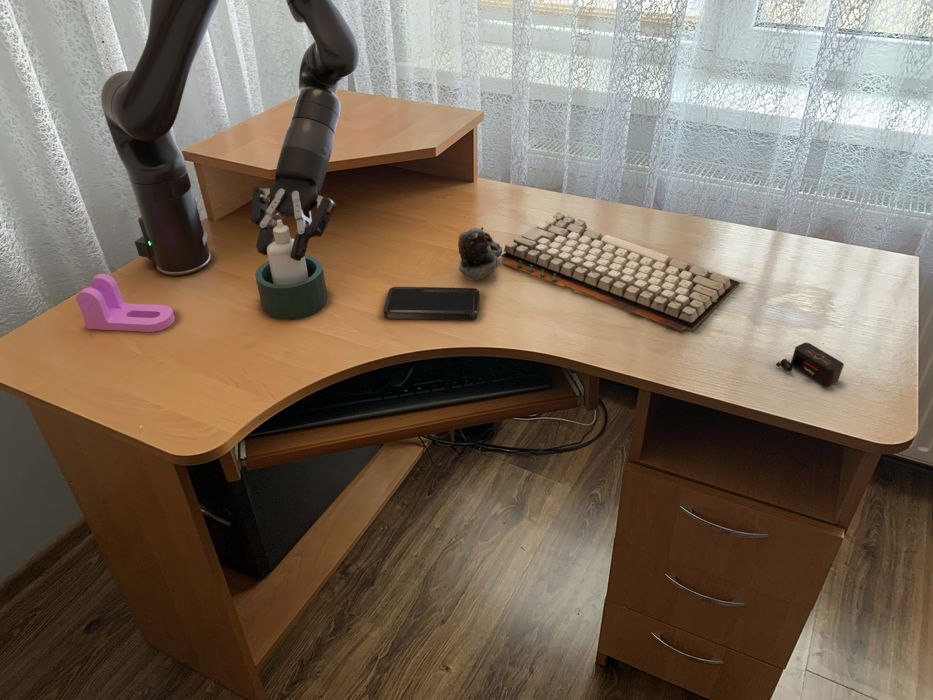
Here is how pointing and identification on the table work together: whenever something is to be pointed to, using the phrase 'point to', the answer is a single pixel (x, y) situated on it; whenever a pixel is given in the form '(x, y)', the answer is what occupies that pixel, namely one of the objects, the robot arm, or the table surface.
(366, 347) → the table surface
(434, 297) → the phone
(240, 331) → the table surface
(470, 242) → the bison figurine
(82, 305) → the bracket
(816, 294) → the table surface
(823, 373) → the wireless earbuds
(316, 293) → the green short hollow cylinder
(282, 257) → the eye dropper bottle
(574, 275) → the mechanical keyboard
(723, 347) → the table surface
